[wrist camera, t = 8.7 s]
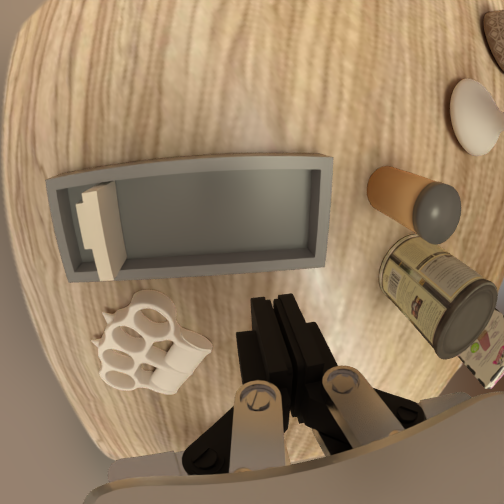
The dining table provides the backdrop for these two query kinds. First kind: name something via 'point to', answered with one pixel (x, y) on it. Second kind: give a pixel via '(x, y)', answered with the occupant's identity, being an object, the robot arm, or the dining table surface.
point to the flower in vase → (475, 117)
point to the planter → (495, 34)
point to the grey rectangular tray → (203, 214)
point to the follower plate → (102, 228)
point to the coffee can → (437, 294)
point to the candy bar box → (487, 352)
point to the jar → (416, 202)
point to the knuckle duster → (149, 347)
